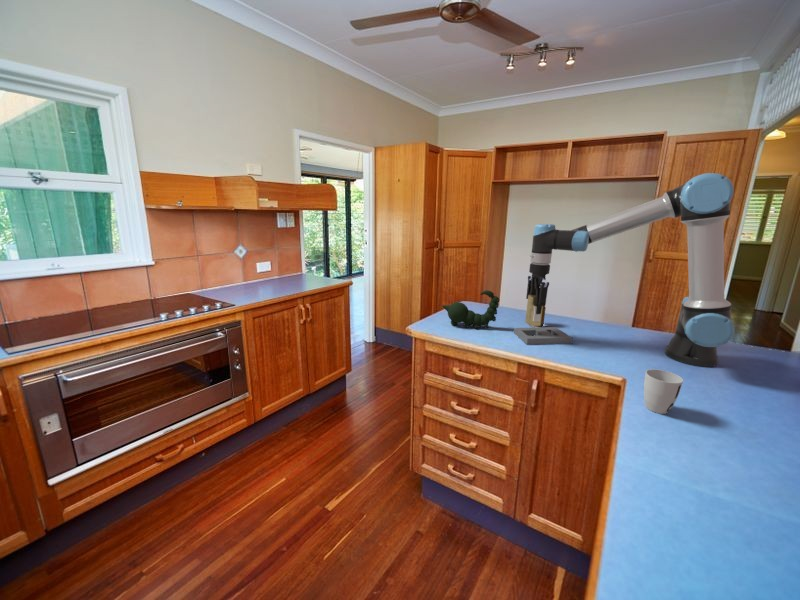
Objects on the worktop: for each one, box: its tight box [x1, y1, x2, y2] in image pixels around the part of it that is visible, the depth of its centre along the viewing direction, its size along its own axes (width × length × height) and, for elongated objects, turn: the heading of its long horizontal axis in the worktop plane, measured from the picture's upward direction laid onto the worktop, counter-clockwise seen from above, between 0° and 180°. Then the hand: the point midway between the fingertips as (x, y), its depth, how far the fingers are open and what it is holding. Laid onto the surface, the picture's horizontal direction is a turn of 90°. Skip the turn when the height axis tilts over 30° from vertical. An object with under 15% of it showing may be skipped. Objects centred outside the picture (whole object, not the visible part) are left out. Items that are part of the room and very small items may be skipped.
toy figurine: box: [441, 290, 500, 330], centre depth 158 cm, size 9×19×25 cm
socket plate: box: [513, 326, 573, 345], centre depth 147 cm, size 13×19×2 cm
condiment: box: [532, 305, 551, 328], centre depth 162 cm, size 7×8×12 cm
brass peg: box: [524, 295, 543, 327], centre depth 143 cm, size 4×4×12 cm
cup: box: [643, 368, 684, 415], centre depth 94 cm, size 8×8×10 cm
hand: (533, 318), depth 144 cm, fingers closed on brass peg, 4 cm apart
